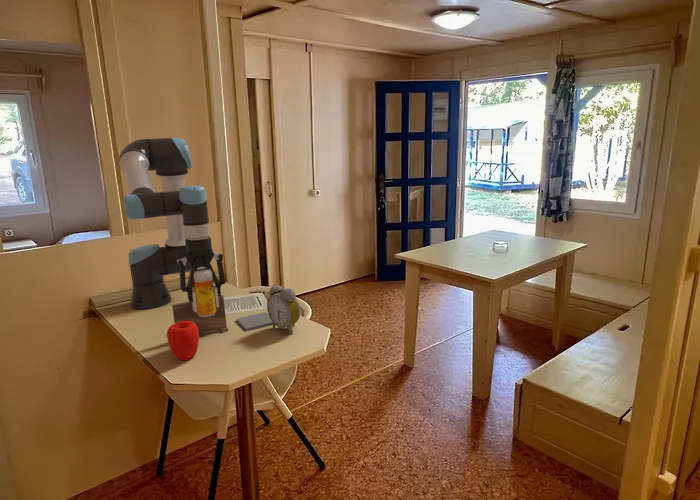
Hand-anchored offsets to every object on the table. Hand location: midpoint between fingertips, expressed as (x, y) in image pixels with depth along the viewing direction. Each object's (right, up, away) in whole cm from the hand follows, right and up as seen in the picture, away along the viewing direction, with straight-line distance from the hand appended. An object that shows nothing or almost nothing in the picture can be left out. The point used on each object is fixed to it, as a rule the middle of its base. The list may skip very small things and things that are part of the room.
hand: (206, 308), depth 144 cm
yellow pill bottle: (0, -2, +1) cm, 2 cm away
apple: (-3, -14, -9) cm, 17 cm away
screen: (-3, -10, +7) cm, 12 cm away
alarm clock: (+24, -8, +9) cm, 27 cm away
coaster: (+13, -7, +16) cm, 21 cm away
